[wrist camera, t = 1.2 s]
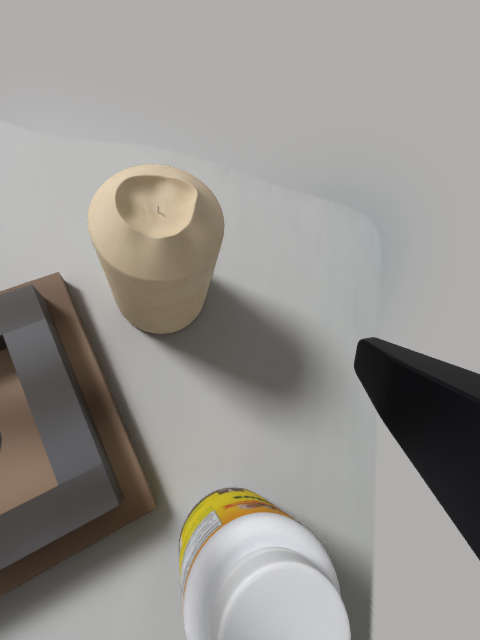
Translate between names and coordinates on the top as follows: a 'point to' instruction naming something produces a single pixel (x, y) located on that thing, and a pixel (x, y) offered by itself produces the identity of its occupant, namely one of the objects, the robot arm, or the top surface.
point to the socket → (57, 437)
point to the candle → (157, 244)
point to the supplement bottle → (255, 574)
